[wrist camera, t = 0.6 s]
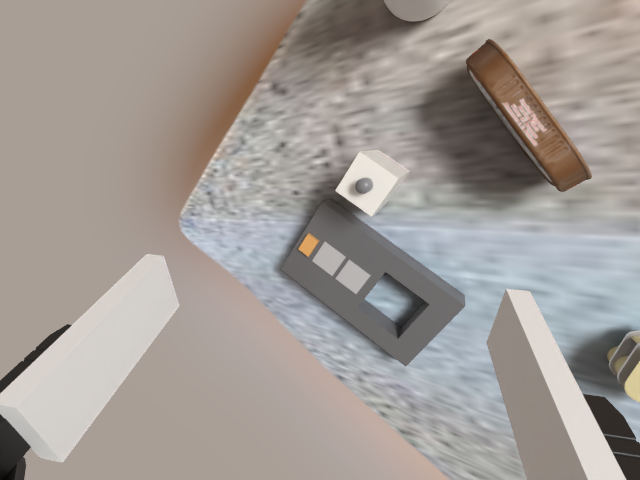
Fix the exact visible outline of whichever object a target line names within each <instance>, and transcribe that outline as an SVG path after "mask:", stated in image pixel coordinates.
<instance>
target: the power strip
mask: <svg viewBox="0 0 640 480" xmlns="http://www.w3.org/2000/svg"><path fill="white" fill-rule="evenodd" d="M281 270H282V271H284V272H285V273H286V274H287V275H289V276H290V277H291V278H293V279H294V280H295V281H296V282H298V283H299V284H300V285H302V286H303V287H304V288H305V289H307V290H308V291H309V292H311V293H312V294H313V295H314V296H316V297H317V298H318V299H320V300H321V301H322V302H323V303H325V304H326V305H327V306H329V307H330V308H331V309H332V310H334V311H335V312H336V313H338V314H339V315H340V316H341V317H343V318H344V319H345V320H347V321H348V322H349V323H350V324H352V325H353V326H354V327H356V328H357V329H358V330H359V331H361V332H362V333H363V334H365V335H366V336H367V337H368V338H370V339H371V340H372V341H374V342H375V343H376V344H377V345H379V346H380V347H381V348H383V349H384V350H385V351H386V352H388V353H389V354H390V355H392V356H393V357H394V358H395V359H397V360H398V361H399V362H401V363H402V364H403V365H404V366H407V365H408V364H409V363H410V362H411V361H412V360H413V359H414V358H415V357H416V356H417V354H418V353H419V352H420V351H421V350H422V349H423V348H424V347H425V346H426V345H427V344H428V343H429V342H430V341H431V340H432V339H433V338H434V337H435V336H436V335H437V334H438V333H439V332H440V331H441V330H442V329H443V328H444V327H445V326H446V325H447V324H448V323H449V322H450V321H451V320H452V319H453V318H454V317H455V316H456V315H457V314H458V313H459V312H460V311H461V310H462V309H463V308H464V307H465V296H464V294H462V293H461V292H460V291H458V290H457V289H455V288H454V287H453V286H451V285H450V284H448V283H447V282H446V281H444V280H443V279H442V278H440V277H439V276H437V275H436V274H435V273H433V272H432V271H430V270H429V269H428V268H426V267H425V266H423V265H422V264H421V263H419V262H418V261H417V260H415V259H414V258H412V257H411V256H410V255H408V254H407V253H405V252H404V251H403V250H401V249H400V248H399V247H397V246H396V245H394V244H393V243H392V242H390V241H389V240H387V239H386V238H385V237H383V236H382V235H381V234H379V233H378V232H376V231H375V230H374V229H372V228H371V227H369V226H368V225H367V224H365V223H364V222H362V221H361V220H360V219H358V218H357V217H356V216H354V215H353V214H351V213H350V212H349V211H347V210H346V209H344V208H343V207H342V206H340V205H339V204H338V203H336V202H335V201H333V200H332V199H331V198H330V199H328V200H325V201H323V202H322V203H321V205H320V206H319V208H318V209H317V211H316V213H315V214H314V216H313V218H312V219H311V221H310V222H309V224H308V226H307V227H306V229H305V230H304V232H303V234H302V235H301V237H300V239H299V240H298V242H297V243H296V245H295V247H294V248H293V250H292V252H291V253H290V255H289V256H288V258H287V260H286V261H285V263H284V264H283V266H282V268H281ZM385 272H386V273H388V274H389V275H390V276H392V277H393V278H394V279H396V280H397V281H398V282H400V283H401V284H403V285H404V286H405V287H407V288H408V289H409V290H411V291H412V292H413V293H415V294H416V295H417V296H419V297H420V298H422V299H423V300H424V301H425V302H424V303H423V304H422V305H421V306H420V307H419V308H418V309H417V310H416V312H415V313H414V314H413V315H412V316H411V317H410V318H409V319H408V320H407V322H406V323H405V324H404V325H403V326H402V327H400V326H399V325H397V324H396V323H395V322H393V321H392V320H391V319H390V318H388V317H387V316H386V315H384V314H383V313H382V312H380V311H379V310H378V309H376V308H375V307H374V306H372V305H371V304H370V303H368V302H367V301H366V300H365V299H364V298H365V297H366V296H367V295H368V293H369V292H370V291H371V290H372V288H373V287H374V286H375V285H376V283H377V282H378V281H379V280H380V278H381V277H382V276H383V274H384V273H385Z"/></svg>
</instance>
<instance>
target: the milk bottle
mask: <svg viewBox="0 0 640 480" xmlns="http://www.w3.org/2000/svg"><path fill="white" fill-rule="evenodd" d="M384 2H385V4H386V6H387V7H388V9H389V10H390V11H391V13H393V14H394V15H395V16H396V17H398V18H400V19H402V20H405V21H411V22H415V21H422V20H425V19H428V18H430V17H432V16H434V15H436V14H437V13H439V12H440V11H441V10H442V9H443V8H444V7H445V6H446V5H447V4H448V3H449V2H450V0H384Z"/></svg>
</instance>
